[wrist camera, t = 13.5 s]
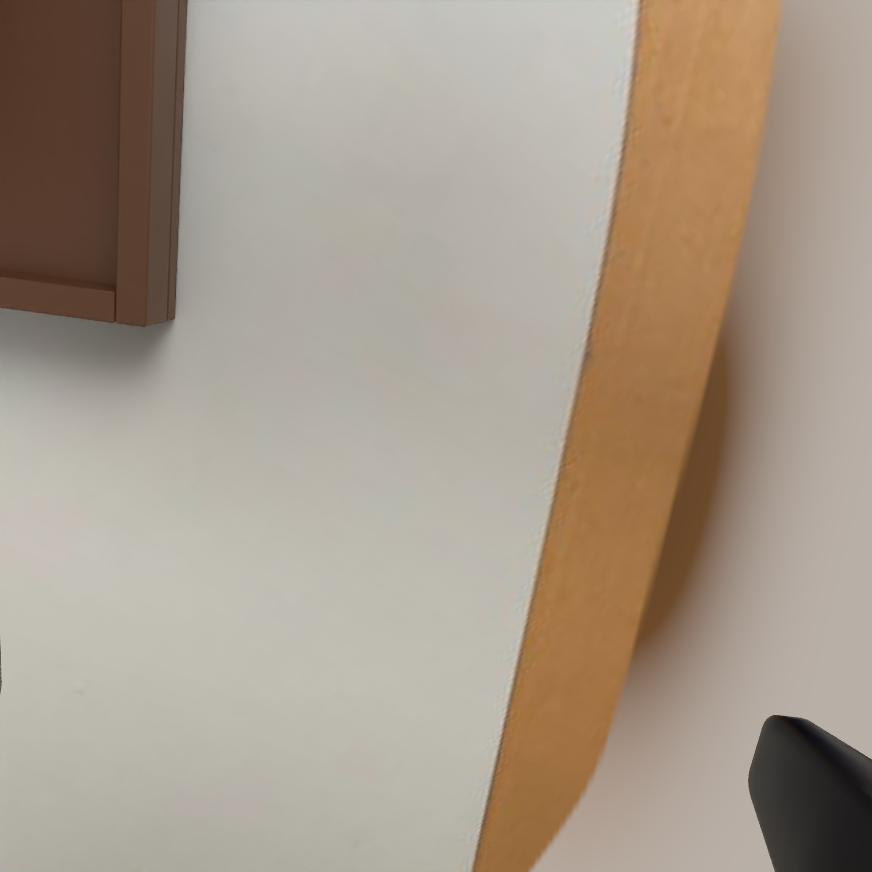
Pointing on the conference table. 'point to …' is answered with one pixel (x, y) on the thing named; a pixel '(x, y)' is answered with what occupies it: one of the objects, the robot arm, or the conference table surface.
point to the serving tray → (91, 157)
